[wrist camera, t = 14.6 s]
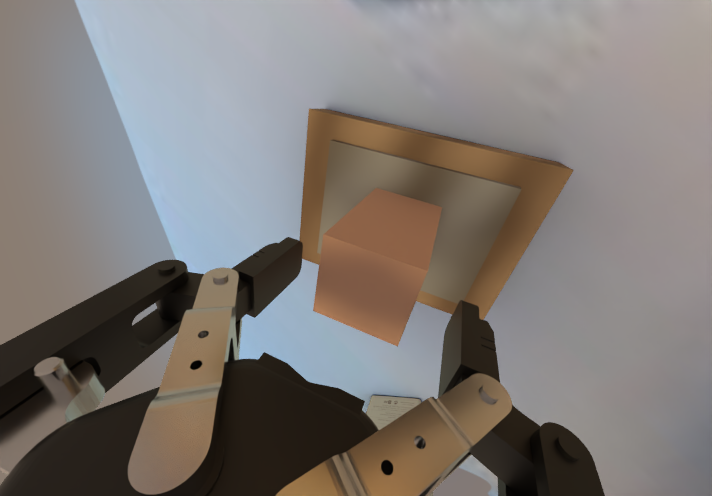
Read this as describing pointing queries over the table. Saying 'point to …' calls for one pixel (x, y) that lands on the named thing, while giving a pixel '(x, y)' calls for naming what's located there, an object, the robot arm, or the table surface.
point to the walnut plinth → (431, 198)
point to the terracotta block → (376, 263)
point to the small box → (389, 409)
